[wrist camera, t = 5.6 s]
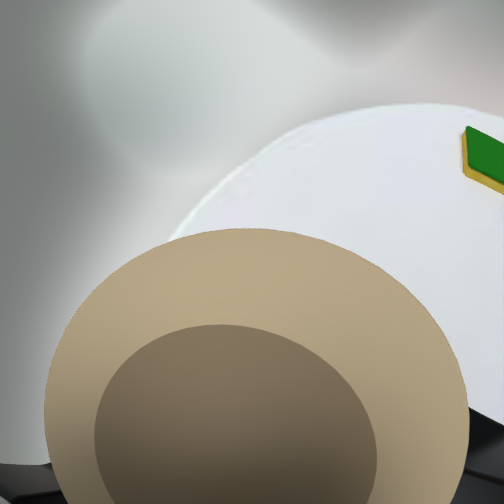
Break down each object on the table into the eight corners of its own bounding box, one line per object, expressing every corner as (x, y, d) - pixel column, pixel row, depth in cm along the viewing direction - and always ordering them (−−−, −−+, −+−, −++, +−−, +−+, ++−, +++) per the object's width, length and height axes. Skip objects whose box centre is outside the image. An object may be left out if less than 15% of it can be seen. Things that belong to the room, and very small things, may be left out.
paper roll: (314, 456, 12) (324, 640, 1) (220, 417, 14) (14, 474, 2) (356, 364, 14) (521, 307, 2) (262, 329, 16) (137, 181, 4)
